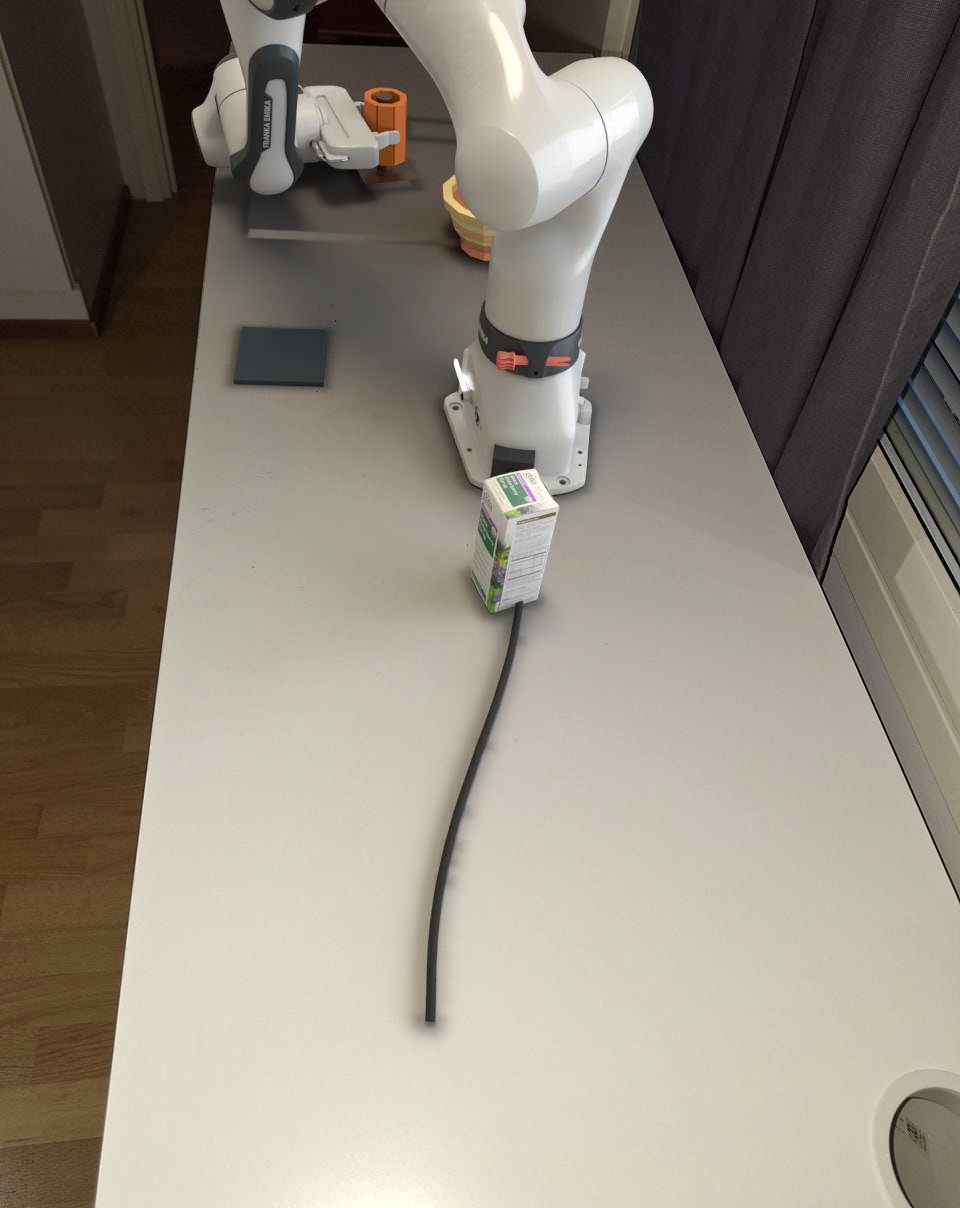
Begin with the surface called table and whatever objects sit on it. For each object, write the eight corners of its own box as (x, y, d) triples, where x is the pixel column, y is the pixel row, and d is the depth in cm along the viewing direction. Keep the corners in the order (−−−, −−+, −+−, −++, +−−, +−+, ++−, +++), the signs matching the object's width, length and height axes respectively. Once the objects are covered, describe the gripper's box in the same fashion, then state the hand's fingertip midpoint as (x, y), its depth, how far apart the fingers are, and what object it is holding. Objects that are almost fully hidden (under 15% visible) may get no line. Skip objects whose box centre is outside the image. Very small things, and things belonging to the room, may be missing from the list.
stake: (418, 187, 146) (421, 107, 136) (365, 193, 143) (364, 111, 134) (402, 160, 151) (403, 81, 141) (349, 165, 148) (347, 84, 139)
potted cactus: (519, 214, 144) (541, 41, 124) (554, 268, 135) (583, 91, 115) (426, 222, 140) (433, 45, 120) (456, 278, 131) (469, 97, 111)
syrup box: (468, 575, 97) (480, 478, 85) (518, 561, 99) (535, 464, 87) (489, 615, 94) (504, 520, 82) (540, 600, 96) (561, 505, 84)
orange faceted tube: (405, 167, 143) (406, 107, 136) (364, 164, 142) (363, 105, 135) (405, 147, 147) (406, 88, 140) (365, 145, 146) (364, 86, 139)
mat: (323, 386, 114) (323, 382, 113) (234, 383, 113) (233, 379, 112) (326, 333, 121) (326, 329, 120) (242, 330, 119) (242, 326, 119)
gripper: (319, 141, 129) (411, 133, 132) (286, 79, 140) (372, 74, 144) (321, 184, 134) (410, 176, 137) (289, 121, 145) (372, 115, 149)
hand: (390, 123), depth 141 cm, fingers closed on orange faceted tube, 7 cm apart
